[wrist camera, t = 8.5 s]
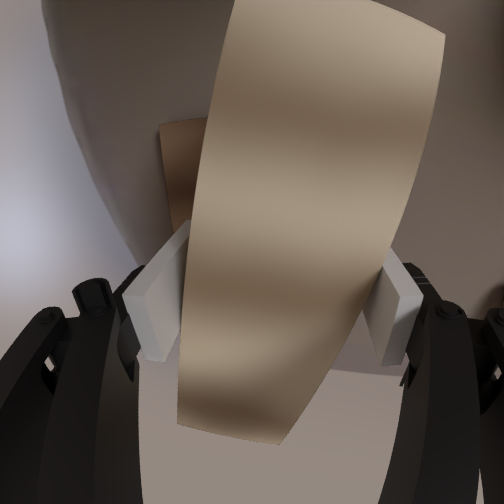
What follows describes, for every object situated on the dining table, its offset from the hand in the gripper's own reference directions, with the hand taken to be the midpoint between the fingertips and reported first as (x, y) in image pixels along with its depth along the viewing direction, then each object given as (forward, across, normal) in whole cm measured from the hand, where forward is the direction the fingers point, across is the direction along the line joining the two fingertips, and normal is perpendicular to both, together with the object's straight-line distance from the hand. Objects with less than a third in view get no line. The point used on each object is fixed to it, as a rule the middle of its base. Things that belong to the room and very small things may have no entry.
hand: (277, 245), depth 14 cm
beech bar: (0, 0, 0) cm, 0 cm away
